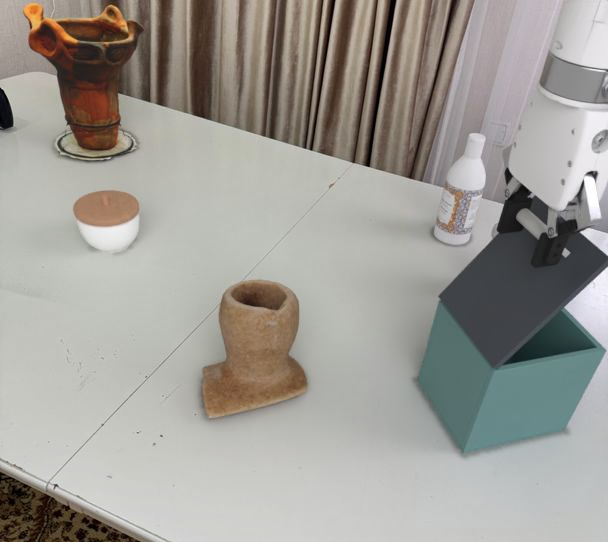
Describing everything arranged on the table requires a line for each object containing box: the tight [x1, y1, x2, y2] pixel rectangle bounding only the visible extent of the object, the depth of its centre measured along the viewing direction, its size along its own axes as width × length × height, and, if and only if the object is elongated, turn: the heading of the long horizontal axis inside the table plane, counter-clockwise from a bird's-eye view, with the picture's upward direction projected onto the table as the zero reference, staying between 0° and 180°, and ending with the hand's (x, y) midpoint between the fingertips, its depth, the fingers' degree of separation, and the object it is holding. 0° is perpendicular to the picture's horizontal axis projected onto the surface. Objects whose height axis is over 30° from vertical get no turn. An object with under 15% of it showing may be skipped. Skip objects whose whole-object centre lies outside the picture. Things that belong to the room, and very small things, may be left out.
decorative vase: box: [22, 2, 145, 161], centre depth 130 cm, size 21×23×28 cm
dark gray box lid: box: [437, 194, 608, 370], centre depth 70 cm, size 16×14×5 cm
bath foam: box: [433, 132, 487, 246], centre depth 113 cm, size 7×7×20 cm
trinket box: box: [72, 189, 141, 254], centre depth 107 cm, size 11×11×9 cm
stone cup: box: [201, 279, 309, 419], centre depth 81 cm, size 15×12×15 cm
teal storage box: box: [417, 299, 607, 454], centre depth 82 cm, size 16×14×15 cm
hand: (526, 246), depth 68 cm, fingers closed on dark gray box lid, 6 cm apart
